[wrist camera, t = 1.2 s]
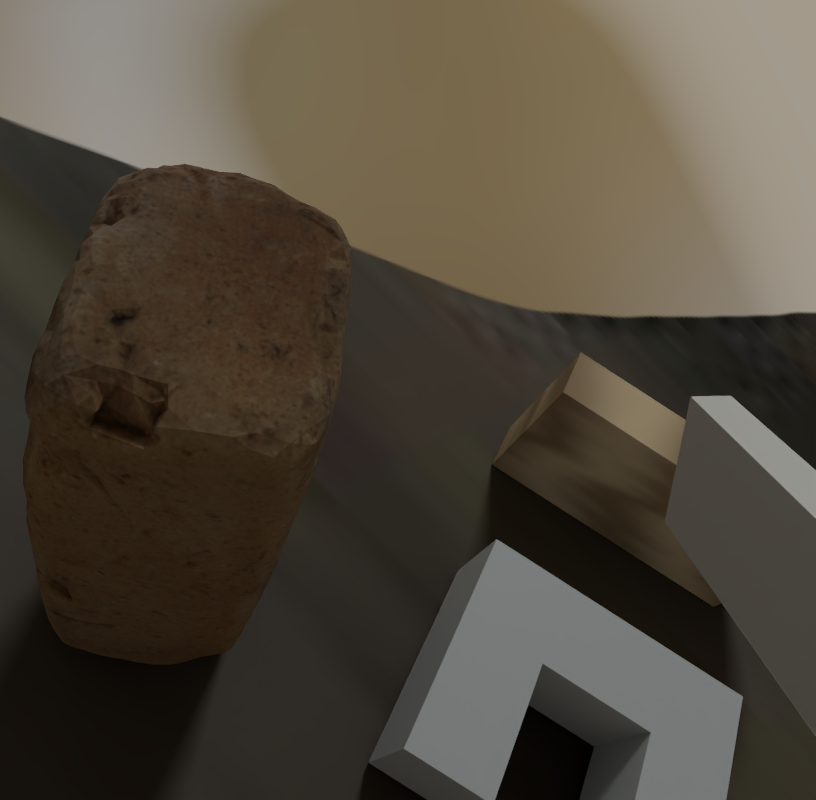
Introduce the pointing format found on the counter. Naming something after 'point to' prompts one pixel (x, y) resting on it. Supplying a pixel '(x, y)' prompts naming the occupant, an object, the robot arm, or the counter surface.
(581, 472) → the wall
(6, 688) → the counter surface
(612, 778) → the block
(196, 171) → the block
